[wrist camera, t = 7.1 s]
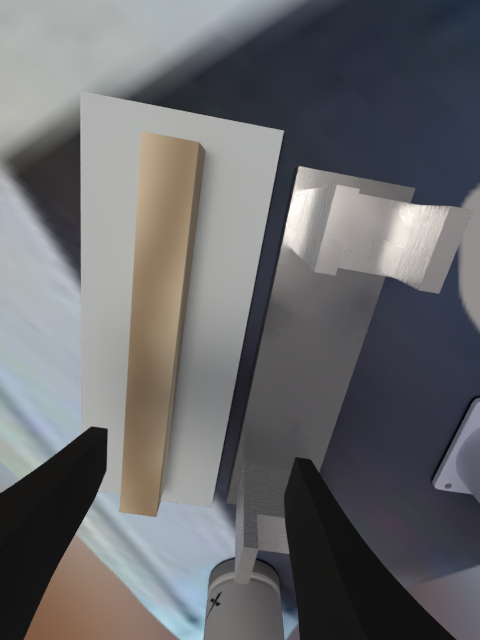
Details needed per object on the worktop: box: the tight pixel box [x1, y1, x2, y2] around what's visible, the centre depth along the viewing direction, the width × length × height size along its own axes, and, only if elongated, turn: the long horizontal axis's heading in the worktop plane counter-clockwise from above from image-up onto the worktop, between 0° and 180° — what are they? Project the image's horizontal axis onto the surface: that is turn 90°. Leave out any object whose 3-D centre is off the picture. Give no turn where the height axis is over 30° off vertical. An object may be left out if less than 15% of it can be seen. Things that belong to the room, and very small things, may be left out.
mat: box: [80, 91, 284, 507], centre depth 20 cm, size 10×26×1 cm, turn 170°
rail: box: [120, 131, 206, 517], centre depth 19 cm, size 2×23×2 cm, turn 170°
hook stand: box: [227, 166, 472, 584], centre depth 18 cm, size 6×23×7 cm, turn 170°
